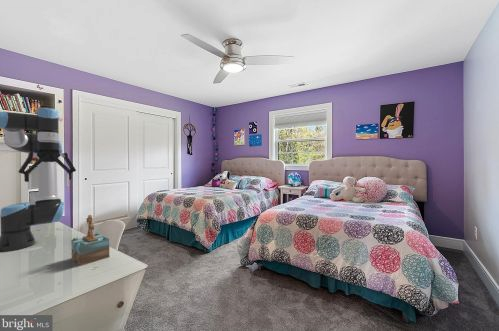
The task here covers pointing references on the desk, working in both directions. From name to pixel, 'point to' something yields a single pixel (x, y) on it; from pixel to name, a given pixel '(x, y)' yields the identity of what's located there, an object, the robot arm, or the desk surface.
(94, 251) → the teal and brown block
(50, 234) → the desk surface
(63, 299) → the desk surface
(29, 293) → the desk surface
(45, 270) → the desk surface
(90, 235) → the lever handle backplate
